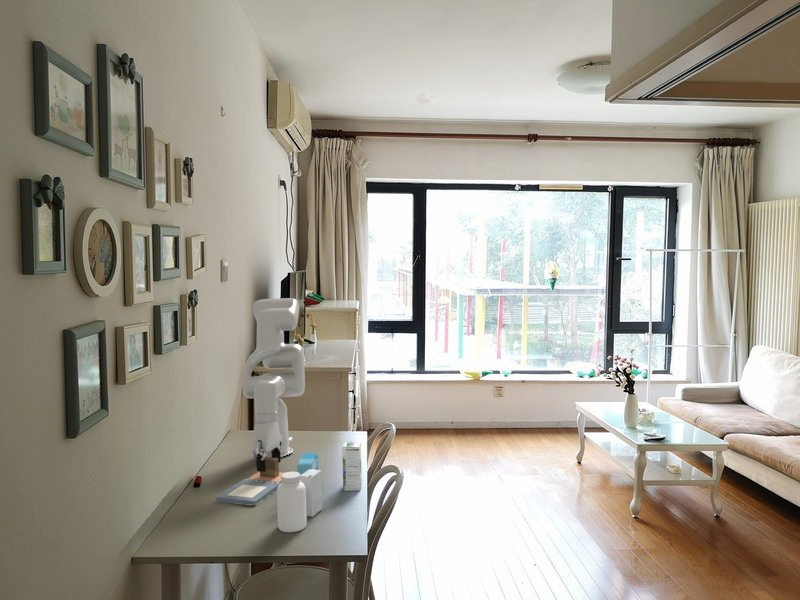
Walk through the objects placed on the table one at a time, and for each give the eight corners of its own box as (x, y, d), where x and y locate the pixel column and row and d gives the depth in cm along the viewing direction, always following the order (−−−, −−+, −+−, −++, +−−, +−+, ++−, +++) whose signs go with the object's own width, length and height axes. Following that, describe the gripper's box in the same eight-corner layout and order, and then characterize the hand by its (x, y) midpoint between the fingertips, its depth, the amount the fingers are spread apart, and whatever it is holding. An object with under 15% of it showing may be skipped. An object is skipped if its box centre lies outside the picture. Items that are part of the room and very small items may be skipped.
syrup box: (344, 484, 200) (342, 441, 199) (362, 484, 200) (360, 441, 199) (343, 491, 194) (341, 447, 193) (361, 490, 194) (359, 446, 193)
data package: (313, 502, 186) (311, 464, 185) (298, 502, 186) (296, 464, 186) (319, 487, 198) (317, 451, 197) (305, 487, 198) (303, 452, 197)
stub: (260, 474, 212) (259, 453, 211) (291, 477, 208) (290, 456, 207) (247, 482, 204) (246, 461, 204) (279, 486, 200) (278, 464, 200)
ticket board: (244, 483, 204) (244, 478, 204) (281, 486, 200) (281, 482, 200) (216, 501, 189) (216, 496, 189) (255, 506, 185) (255, 501, 185)
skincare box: (310, 507, 182) (308, 468, 182) (323, 509, 181) (322, 469, 180) (299, 515, 177) (298, 475, 176) (313, 517, 175) (311, 477, 174)
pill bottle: (308, 530, 167) (306, 477, 166) (279, 535, 165) (276, 481, 164) (305, 519, 174) (302, 468, 173) (276, 523, 172) (274, 471, 171)
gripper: (270, 410, 214) (272, 458, 215) (242, 422, 197) (245, 474, 198) (289, 411, 211) (291, 459, 212) (262, 423, 195) (265, 475, 196)
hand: (268, 466), depth 205 cm, fingers open, 9 cm apart
